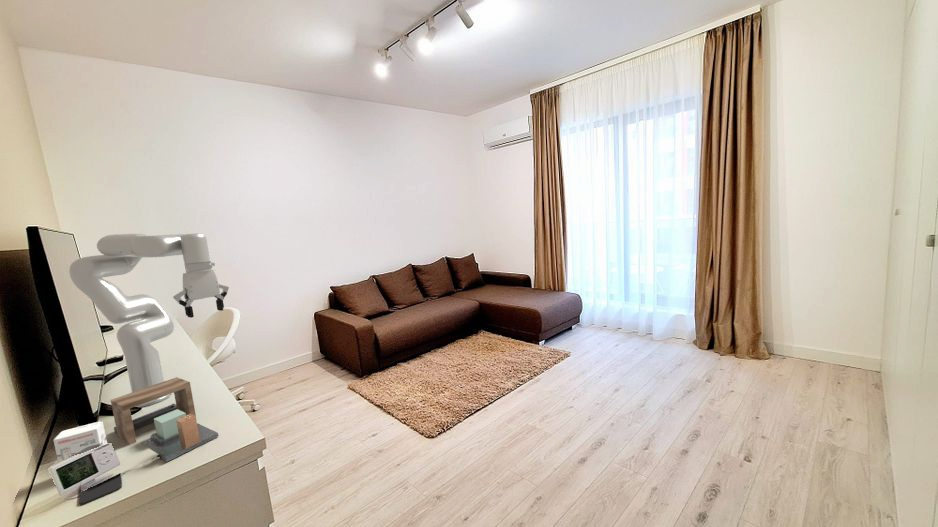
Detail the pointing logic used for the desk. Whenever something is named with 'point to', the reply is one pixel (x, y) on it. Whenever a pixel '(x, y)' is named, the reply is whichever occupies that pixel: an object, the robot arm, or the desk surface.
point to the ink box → (79, 440)
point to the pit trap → (151, 417)
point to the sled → (181, 439)
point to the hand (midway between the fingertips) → (206, 313)
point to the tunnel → (145, 395)
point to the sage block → (168, 424)
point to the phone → (101, 489)
